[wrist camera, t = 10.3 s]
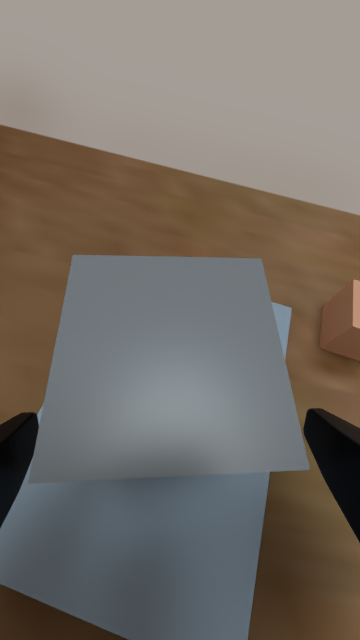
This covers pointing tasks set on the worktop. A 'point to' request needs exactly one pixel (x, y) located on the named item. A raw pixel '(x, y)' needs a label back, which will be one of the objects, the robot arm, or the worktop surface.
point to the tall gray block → (166, 374)
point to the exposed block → (342, 322)
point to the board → (143, 549)
